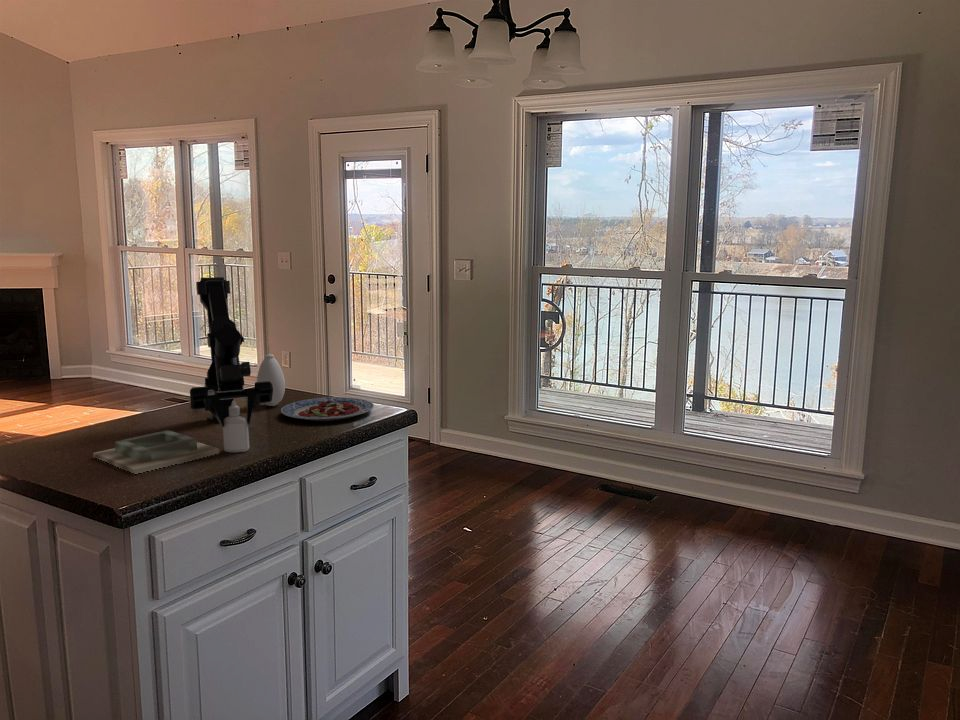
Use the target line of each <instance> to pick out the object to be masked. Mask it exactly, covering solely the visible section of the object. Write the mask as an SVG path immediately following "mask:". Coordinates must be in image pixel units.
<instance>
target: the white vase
mask: <svg viewBox="0 0 960 720" xmlns="http://www.w3.org/2000/svg"><path fill="white" fill-rule="evenodd" d="M267 351H268V353H267V354H265V355H264V359H262V362H261V363H260V365H259V368H258V372H257V375H256V382H263V381H270V382H271V383H272V386H273V395H272V401H271V402H266V403H265V405H266V406H268V407H270V406H273V407H275V406H276V405H278V404H279V403H280V402H282V400H283V398H284V395H285V391H286V381H285V376H284V375H285V374H284V372H283V370H282V369H283V368H282V367H281V365H280V363H279V362H278V361H277V359H276V358H275V355H274V354H272V353H271V350H270V345H269V346H267Z"/></svg>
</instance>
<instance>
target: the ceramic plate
mask: <svg viewBox="0 0 960 720" xmlns="http://www.w3.org/2000/svg"><path fill="white" fill-rule="evenodd" d="M342 399H345V400H342ZM374 407H375V405H374V403H373V402H371V401H370V400H368V399H367V400H366V399H363V398H357V397H345V396H343V397H341V396H332V397H331V396H330V397H319V398H318V397H316V398H310V399H303V400H299V401H295V402H291V403H288V404H286V405H285V406H283V407H282V408H281V409H280V412H281V414H282V415H284V416H287V417H288V418H289V417H290V418H294V419H300V420H303V419H304V421H308V420H311V421H310V422H333V421H334V420H336V421H343V420H347V419H351V418H354V417H356V416H359V415H360V416H361V415H363V414H366V413H369V412H371V411H372V410H373V409H374ZM306 409H307V410H306ZM342 419H343V420H342Z"/></svg>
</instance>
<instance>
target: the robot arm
mask: <svg viewBox="0 0 960 720" xmlns="http://www.w3.org/2000/svg"><path fill="white" fill-rule="evenodd" d="M195 286H196V295H197V296H199V302H200V303H201V305H202V306H203V308H205V310H206V312H207V325H208V326H207V327H208V332H207V335H206V339H207V346H208V347H207V348H209V350H210V357H211V359H210V360H211V364H210V366H209V367H208V369H207V372H206V377H204V386H196V387H194V386H193V387H191V388H190V390H189V403H190V409H192V410H201V409H204V410H205V411H206V412H210V413H211V416H208V417H206V420H208V421H213V422H215V423H216V422H217V423H218V424H219V425H220V426H221V427H222V428H223V427H224V419H225V418H226V417H229V407H230V406H231V405H232V401H235V400H234V399H245V398H247V400H246V418H247V422H248V425H250V424H251V420H252V415H253V413H254V410H255V407H258V406H260V404H266V402H271V401H272V395H273V386H272V383H271V382H270V381H263V382H257V381H255V382H254V387H252V388H244V386H245V379H244V377H251V373H252V371H251V370H252V369H251V364H250V361H242V362H241V364H240V358H239V357H240V354H241V346H242V345H243V343H244V342H245V338H244V336H243V335H242V334H241V333H240V331H239V330H238V329H237V327H236V326H237V325H236V323H235V322H234V321H233V320H232V319H230V315H229V309H228V303H227V300H228V294H231V286H230V280H226V279H225V278H224V276H218V277H216V276H215V277H214V276H213V277H211V276H210V277H200V280H199V281H196V282H195Z"/></svg>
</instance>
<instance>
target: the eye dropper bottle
mask: <svg viewBox="0 0 960 720" xmlns="http://www.w3.org/2000/svg"><path fill="white" fill-rule="evenodd" d="M222 440H223V450H224V451H225V452H226V453H244V452H248V450H249V449H250V436H249V424H248V422H247V417H245V416H242V415H241V409H240V406H239V405H237V403H236V400H234V401H232V405H231V406H230V407H229V417H226V418H225V419H224V427H222Z"/></svg>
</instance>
